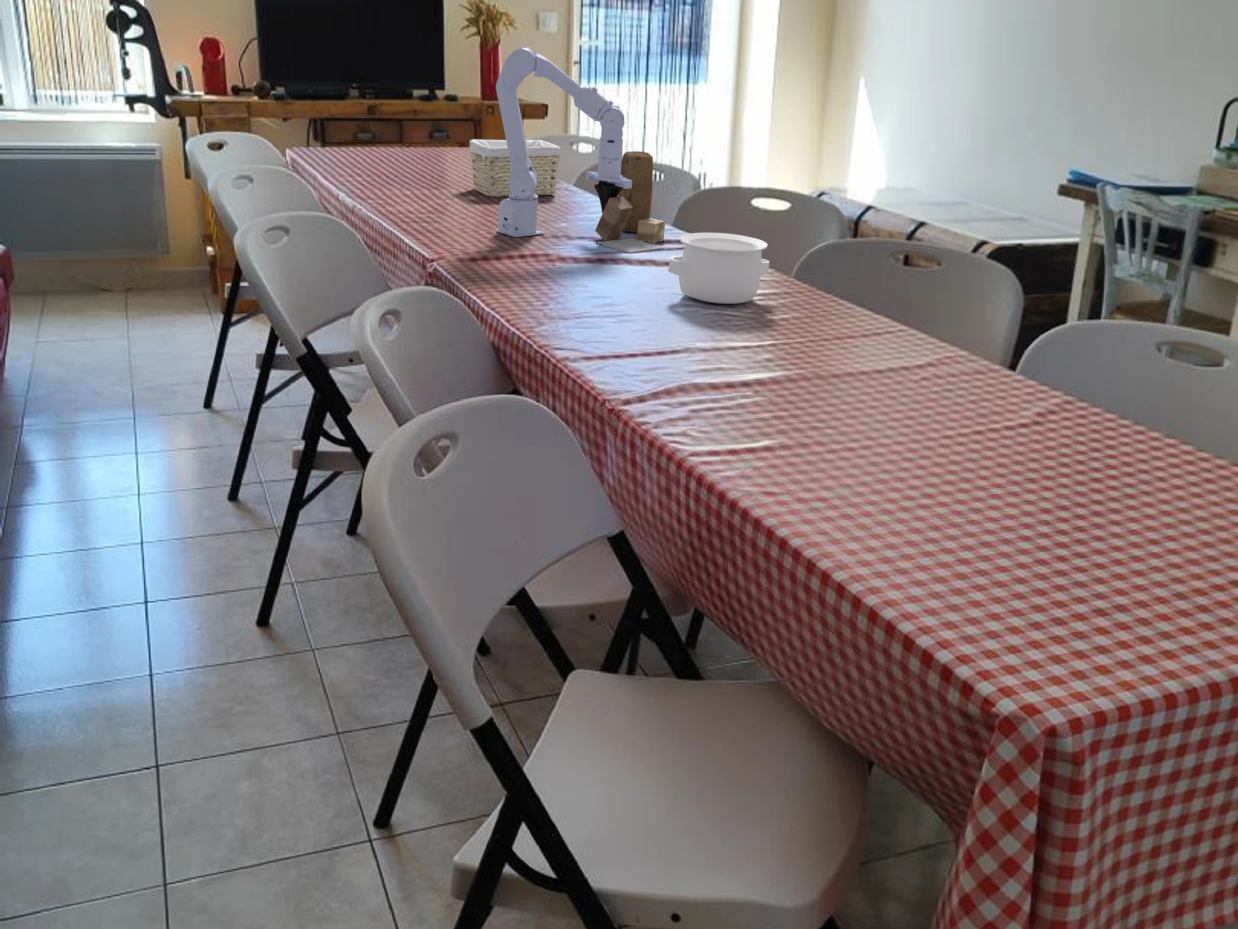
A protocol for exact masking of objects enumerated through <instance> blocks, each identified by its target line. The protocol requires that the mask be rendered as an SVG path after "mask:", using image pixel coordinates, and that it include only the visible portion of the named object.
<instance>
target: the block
mask: <svg viewBox="0 0 1238 929" xmlns="http://www.w3.org/2000/svg"><path fill="white" fill-rule="evenodd" d="M621 175H622V176H623V177H624V178H626V179H629V180H632V188H628V189H625V188H623V187H622V190H621V191H620V193H619V195H618V197H623V198H624V199H625V200H626V201H627V202H628V203H629V204H630V205H631V206H632V207H633V209H632V212H631V214H630V216H629V218H628V220H627V222H626V225H625V227H624V229H623V231H624V232H627V233H635V234H637V233H638V221H639V220H643V219H647V218H650V219H651V212H652V211H651V210H652V200H653V183H654V182H653V180H654V179H653V176H654V157H653V155H651V154H650V153H649V152H646V151H637V150H636V151H628V150H627V151H626V152H625V153H623V154H622V161H621ZM623 231H622V232H623Z"/></svg>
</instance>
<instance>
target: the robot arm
mask: <svg viewBox="0 0 1238 929" xmlns="http://www.w3.org/2000/svg"><path fill="white" fill-rule="evenodd" d="M533 72H534V74H533V77H537V78H545V79H548V80H549V81H551V83H553V84H554V85H556V86H557V87H558V88H560V89H561V90H563V91H564V92H565V93H567V94H568V95H569V96H571V97H572V98H573V103H574V106H575V107H576V108H578V109H579V110H580V111H581V112H582V113H584V114H585V115H587V116H588V117H589V118H590V119H592V120H593V121H594V122H599V124H600V126H601V127H600V128H601V130H600V131H601V132H600V133H601V134H600V137H599V144H598V146H599V147H598V161H597V162H598V163H597V171H586V178H585V180H587V181H594V182H597V183H595V184H594V189H595V191H596V193H597V196H598V198H599V199H598V200H599V203H600V208H601V213H602V214H603V211H604V209H605V207H606V205H607V202H608V200H609V198H614V197H619V193H620V191H621V190H622V187H623V188H625V189H628V188H632V180H629V179H626V178H624V177H623V176H622V175H621V162H622V158H623V143H624V139H623V136H624V131H623V128H624V127H625V123H626V122H625V115H624V112H623V110H622V109H621V108H620V107H619V106H617V105H614V102H613V101H612V100H608V99H606V98H605V96H602V95H601V94H600V93H598V91H599V89H598V88H597V87H595V86H593V87H591V86H590V85H584V86H581V85H580V84H579V83H577V82H576V81H575V80H574V79H572V78H571V77H570V76H569V75H568V74H567V73H566V72H564V71H563V70H562V69H560V67H558V66H557V65H556V64H554V63H553V62H552V61H551V60H549V58H546V57H545V56H544V55H542V54H540V53H536V52H535V51H534V49H532V48H530V47H528V46H521V47H519V48H517V49H515V50H513V51H512V52H511V53H510V54H509V55H508V57H507V58H506V59H504V62H503V65H502V68H501V71H500V73H499V75H498V79H497V81H496V84H495V90H496V96H497V100H498V105H499V111H500V116H501V122H502V125H503V130H504V136H505V140H506V142H507V147H508V152H509V157H510V171H511V180H510V190H511V192H512V193H510V194H509V196H507V198H504V199H502V200H501V201H500V203H499V205H498V214H497V217H498V218H497V226H498V227H497V229H496V230H495V232H496V233H497V232H498V233H500V234H504V235H507V236H511V237H512V238H513V237H514V238H519V237H527V236H528V237H529V236H536V235H537V236H538V235H544V234H545V232H544V231H541V230H537V228H538V227H537V226H538V204H539V199H538V198H539V195H536V194H535V192H534V190H535V188H536V187H537V184H538V177H537V175H536V173H535V172H534V170H533V168H532V165H531V161H530V158H529V155H528V150H527V145H526V140H527V139H526V135H525V131H524V129H525V128H524V125H523V120H522V119H523V118H522V114H521V110H520V108H521V107H520V103H519V98H518V92H517V91H518V88H519V87H520V86H521V84H522V83H523V82H524V79H525V78H527V77H528V76H529V75H531V74H532V73H533Z"/></svg>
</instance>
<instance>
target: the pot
mask: <svg viewBox="0 0 1238 929" xmlns="http://www.w3.org/2000/svg"><path fill="white" fill-rule="evenodd" d="M679 241H680V243H682V244H683V245H684V250H683V253H682V255H674V256H671V257H670V259H669V263H668V269H667V272H668V273H670V274H673V275H676V276H678V282H679V287H680V292H681V293H682V294H683V295H685V296H686V297H689V298H693V299H695V300H699V301H703V302H706V303H707V302H708V303H713V304H723V305H724V304H726V305H728V304H730V305H732V304H734V305H735V304H741V303H746V302H748V303H749V302H751V301H752V300H753V299H755V297H756V295H757V292H758V290H759V288H760V283H761V276H763V275H767V274H770V273H769V271H770V261H769V260H767V259H765V258H762V251H763V250H766V249H768V247H769V246H768V243H767V242H765V241H764V240H762V239H759V238H756V237H751V236H746V235H741V234H736V233H735V234H734V233H724V232H693V233H687V234H683V235H681V236H679Z"/></svg>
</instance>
